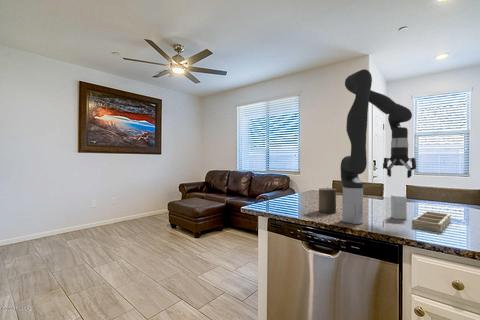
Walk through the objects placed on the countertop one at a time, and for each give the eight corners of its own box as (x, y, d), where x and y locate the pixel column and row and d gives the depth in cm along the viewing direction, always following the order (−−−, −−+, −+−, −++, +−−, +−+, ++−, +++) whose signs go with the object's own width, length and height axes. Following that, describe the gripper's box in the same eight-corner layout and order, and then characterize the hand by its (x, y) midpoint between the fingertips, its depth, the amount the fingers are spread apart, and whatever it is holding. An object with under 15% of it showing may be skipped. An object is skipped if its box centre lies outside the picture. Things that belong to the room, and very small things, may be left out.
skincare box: (403, 217, 122) (403, 195, 122) (406, 219, 118) (407, 196, 118) (390, 216, 123) (390, 194, 123) (393, 218, 119) (393, 196, 119)
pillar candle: (337, 214, 129) (338, 187, 129) (320, 213, 130) (320, 187, 130) (333, 210, 138) (333, 186, 139) (317, 209, 140) (317, 185, 140)
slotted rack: (440, 232, 97) (440, 224, 97) (412, 227, 104) (412, 219, 104) (450, 221, 114) (450, 214, 114) (425, 217, 122) (425, 211, 122)
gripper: (381, 147, 123) (381, 176, 123) (413, 146, 112) (413, 178, 113) (386, 147, 128) (386, 176, 128) (417, 146, 117) (417, 177, 117)
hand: (399, 177), depth 120 cm, fingers open, 8 cm apart
